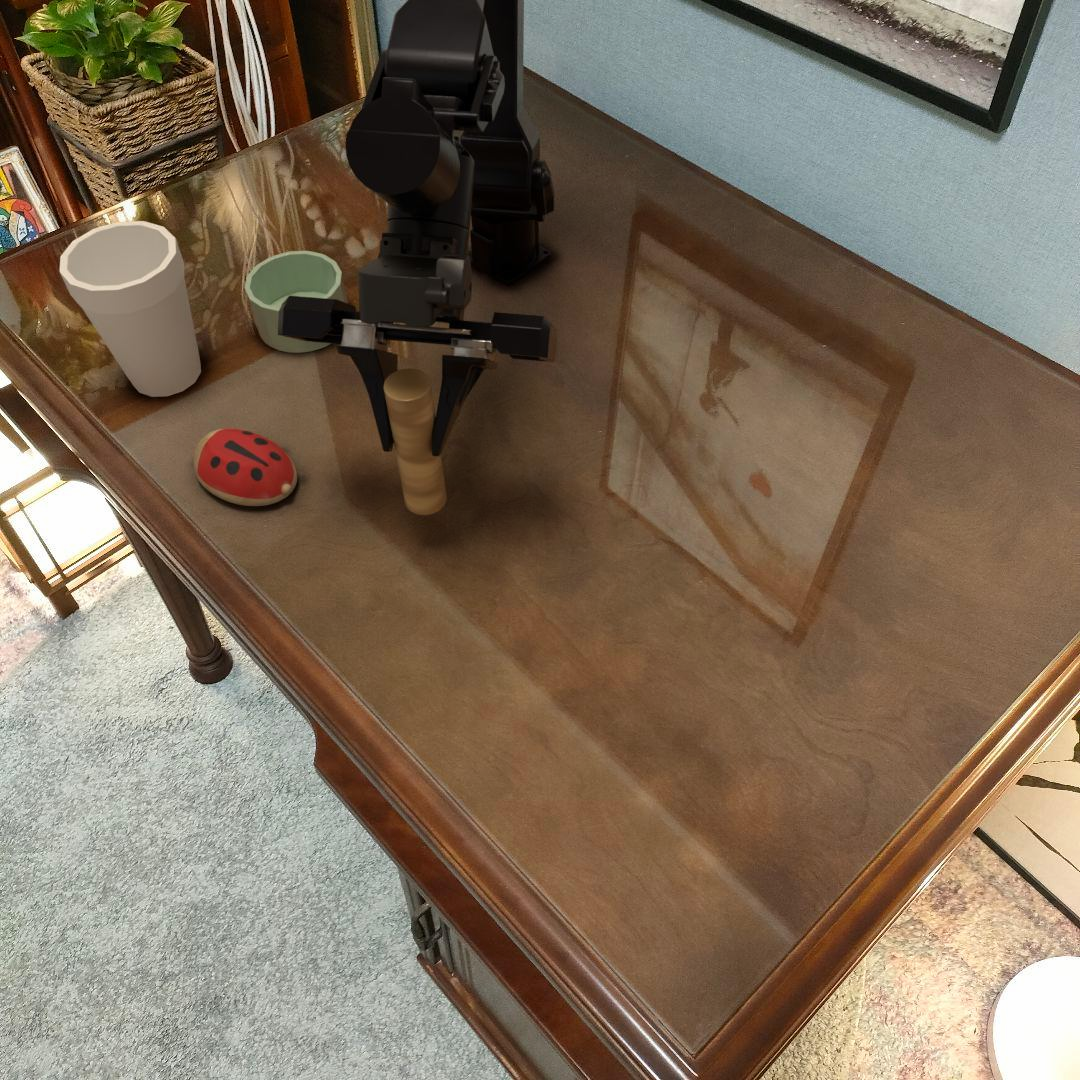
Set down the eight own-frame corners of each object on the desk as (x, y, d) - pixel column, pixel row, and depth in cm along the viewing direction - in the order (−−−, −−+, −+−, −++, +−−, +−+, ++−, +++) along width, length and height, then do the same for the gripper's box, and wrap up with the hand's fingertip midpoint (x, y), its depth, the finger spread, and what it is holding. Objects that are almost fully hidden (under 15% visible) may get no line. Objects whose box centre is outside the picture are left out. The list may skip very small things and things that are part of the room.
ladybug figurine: (229, 432, 89) (218, 402, 86) (320, 472, 86) (312, 443, 83) (177, 482, 85) (164, 453, 83) (270, 526, 82) (260, 497, 80)
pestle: (426, 477, 80) (408, 361, 70) (455, 498, 78) (440, 382, 69) (396, 500, 78) (373, 385, 69) (425, 522, 77) (405, 407, 67)
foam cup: (192, 415, 90) (145, 297, 80) (96, 402, 92) (38, 284, 81) (233, 345, 96) (194, 226, 86) (142, 333, 97) (93, 215, 87)
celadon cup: (310, 281, 102) (300, 239, 98) (368, 319, 98) (360, 276, 94) (239, 325, 98) (225, 282, 94) (297, 366, 94) (286, 323, 90)
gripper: (252, 192, 63) (239, 444, 65) (550, 213, 61) (527, 472, 63) (312, 226, 74) (299, 440, 76) (566, 245, 72) (546, 464, 74)
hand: (411, 453), depth 72 cm, fingers closed on pestle, 3 cm apart
